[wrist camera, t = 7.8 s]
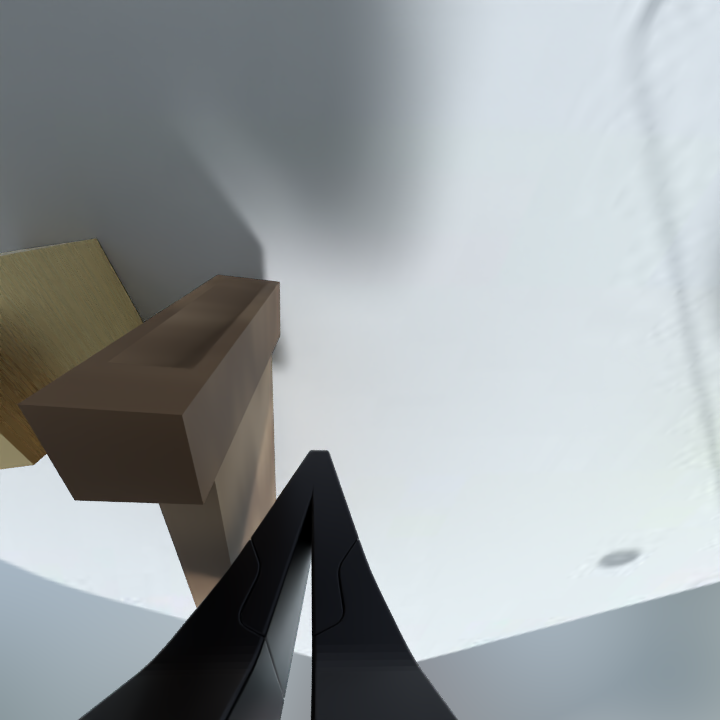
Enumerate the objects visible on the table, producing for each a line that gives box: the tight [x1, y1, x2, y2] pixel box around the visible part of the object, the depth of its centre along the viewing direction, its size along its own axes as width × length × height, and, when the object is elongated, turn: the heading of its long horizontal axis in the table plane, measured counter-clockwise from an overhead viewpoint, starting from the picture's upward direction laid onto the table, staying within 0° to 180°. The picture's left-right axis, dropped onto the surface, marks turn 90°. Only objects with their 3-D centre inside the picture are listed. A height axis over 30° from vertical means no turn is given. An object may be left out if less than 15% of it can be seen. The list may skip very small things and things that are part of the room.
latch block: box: [0, 238, 143, 469], centre depth 7 cm, size 2×4×5 cm, turn 8°
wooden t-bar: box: [17, 275, 280, 607], centre depth 9 cm, size 14×2×6 cm, turn 173°
